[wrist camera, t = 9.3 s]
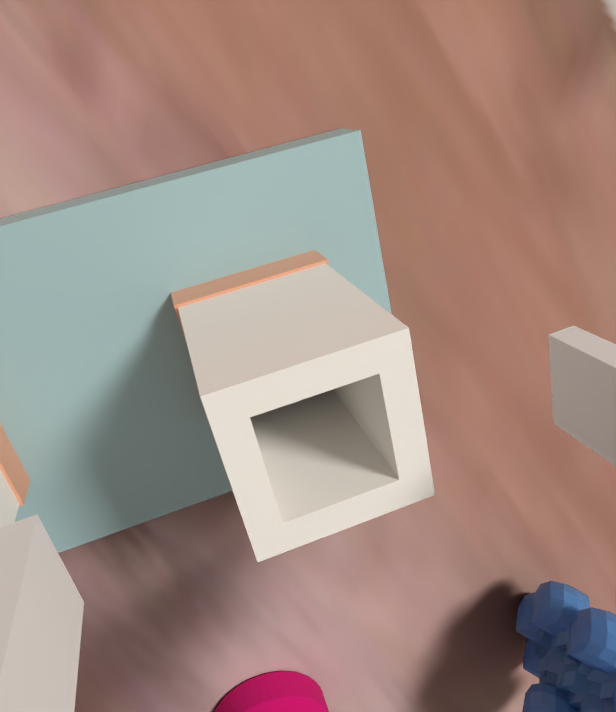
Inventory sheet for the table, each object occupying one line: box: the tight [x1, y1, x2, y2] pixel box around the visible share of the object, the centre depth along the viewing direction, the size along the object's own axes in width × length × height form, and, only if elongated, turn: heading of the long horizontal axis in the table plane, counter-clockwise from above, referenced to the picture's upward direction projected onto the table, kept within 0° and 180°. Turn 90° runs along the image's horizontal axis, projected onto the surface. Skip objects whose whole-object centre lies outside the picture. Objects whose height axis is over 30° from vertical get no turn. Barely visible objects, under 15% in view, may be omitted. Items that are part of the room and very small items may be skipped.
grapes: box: [516, 581, 616, 712], centre depth 29 cm, size 12×7×12 cm, turn 15°
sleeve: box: [171, 250, 435, 562], centre depth 18 cm, size 5×5×8 cm
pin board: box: [0, 128, 391, 553], centre depth 20 cm, size 12×22×6 cm, turn 103°
